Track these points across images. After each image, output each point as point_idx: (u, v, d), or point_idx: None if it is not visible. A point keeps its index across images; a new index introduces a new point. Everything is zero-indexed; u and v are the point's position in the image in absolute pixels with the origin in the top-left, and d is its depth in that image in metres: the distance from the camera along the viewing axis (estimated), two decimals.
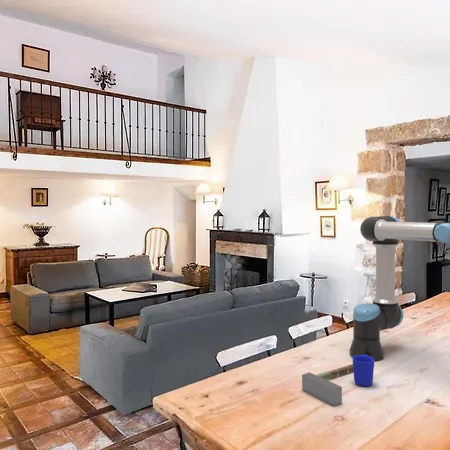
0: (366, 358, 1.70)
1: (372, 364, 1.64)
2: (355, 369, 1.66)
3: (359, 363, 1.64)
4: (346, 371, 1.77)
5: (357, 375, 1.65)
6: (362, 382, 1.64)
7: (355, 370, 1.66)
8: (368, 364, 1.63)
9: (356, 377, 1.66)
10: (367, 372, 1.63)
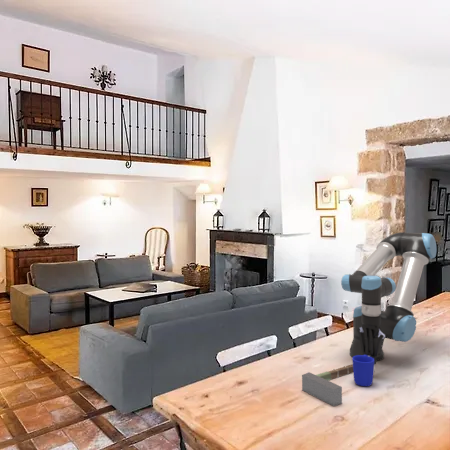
0: (366, 358, 1.70)
1: (372, 364, 1.64)
2: (355, 369, 1.66)
3: (359, 363, 1.64)
4: (346, 371, 1.77)
5: (357, 375, 1.65)
6: (362, 382, 1.64)
7: (355, 370, 1.66)
8: (368, 363, 1.63)
9: (356, 377, 1.66)
10: (367, 372, 1.63)
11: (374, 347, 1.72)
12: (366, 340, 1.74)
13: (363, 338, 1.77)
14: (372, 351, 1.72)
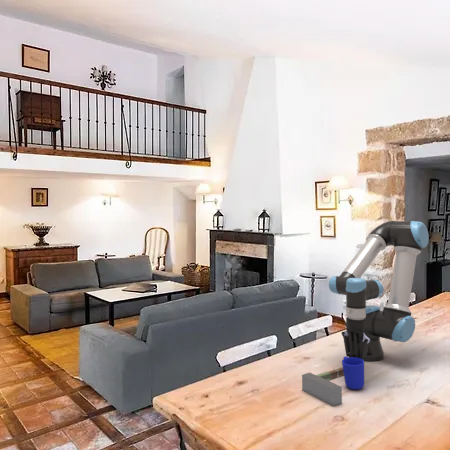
0: (351, 360, 1.67)
1: None
2: (350, 374, 1.61)
3: (354, 366, 1.60)
4: None
5: (353, 379, 1.61)
6: (358, 385, 1.61)
7: (350, 375, 1.61)
8: (362, 365, 1.61)
9: (351, 382, 1.61)
10: (362, 373, 1.61)
11: (359, 351, 1.67)
12: (351, 344, 1.70)
13: (348, 342, 1.72)
14: (357, 356, 1.67)
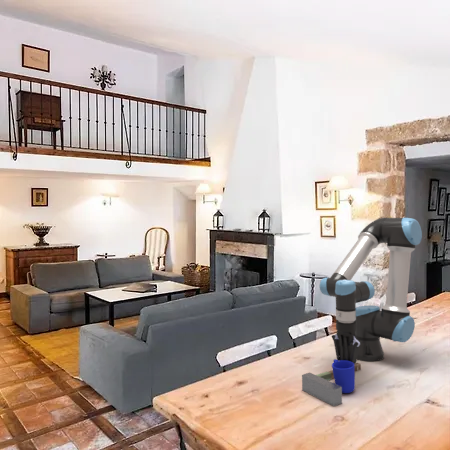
0: (341, 363, 1.64)
1: None
2: (340, 378, 1.58)
3: (344, 370, 1.57)
4: None
5: (343, 383, 1.57)
6: (349, 389, 1.58)
7: (340, 379, 1.58)
8: (352, 368, 1.58)
9: (342, 386, 1.58)
10: (352, 377, 1.58)
11: (349, 355, 1.64)
12: (341, 348, 1.66)
13: (338, 345, 1.69)
14: (347, 359, 1.64)
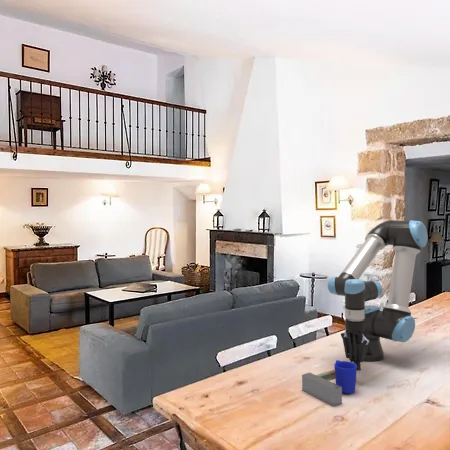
0: (343, 363, 1.64)
1: (356, 369, 1.60)
2: (342, 377, 1.58)
3: (347, 370, 1.57)
4: None
5: (344, 383, 1.58)
6: (349, 390, 1.58)
7: (342, 378, 1.58)
8: (355, 369, 1.58)
9: (343, 386, 1.58)
10: (354, 378, 1.58)
11: (358, 353, 1.67)
12: (350, 345, 1.69)
13: (347, 343, 1.72)
14: (356, 357, 1.67)
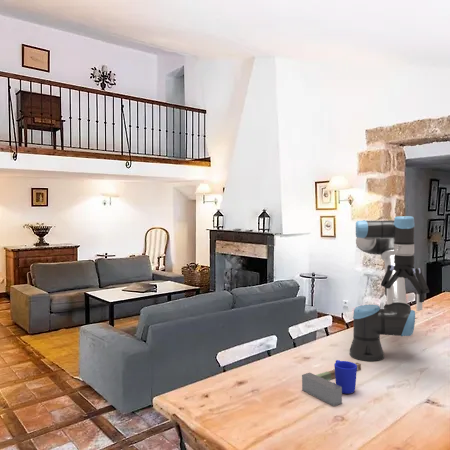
0: (343, 363, 1.64)
1: (356, 369, 1.60)
2: (342, 377, 1.58)
3: (347, 370, 1.57)
4: None
5: (344, 383, 1.58)
6: (349, 390, 1.58)
7: (342, 378, 1.58)
8: (355, 369, 1.58)
9: (343, 386, 1.58)
10: (354, 378, 1.58)
11: (417, 284, 1.67)
12: (392, 277, 1.75)
13: (389, 275, 1.77)
14: (417, 288, 1.65)
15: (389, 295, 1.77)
